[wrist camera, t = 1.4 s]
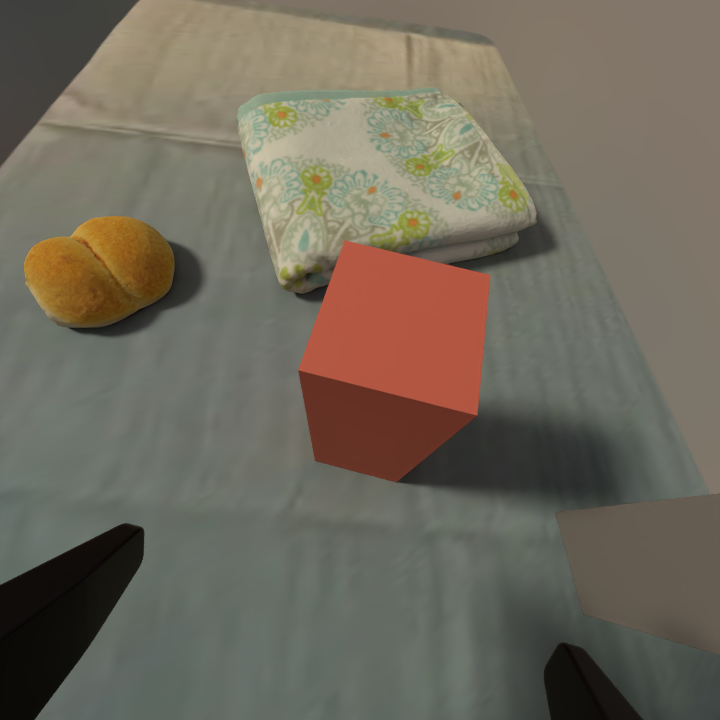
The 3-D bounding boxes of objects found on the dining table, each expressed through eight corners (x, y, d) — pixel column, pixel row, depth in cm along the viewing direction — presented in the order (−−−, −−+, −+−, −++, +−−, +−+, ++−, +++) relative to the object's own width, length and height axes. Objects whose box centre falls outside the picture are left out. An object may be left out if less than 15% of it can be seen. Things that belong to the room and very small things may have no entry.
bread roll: (200, 283, 27) (180, 244, 23) (80, 353, 24) (35, 320, 20) (143, 220, 29) (117, 176, 25) (26, 276, 26) (-22, 234, 22)
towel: (526, 253, 31) (560, 204, 26) (282, 304, 27) (272, 256, 22) (442, 127, 38) (458, 71, 34) (241, 151, 34) (227, 91, 29)
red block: (396, 482, 21) (477, 415, 10) (315, 460, 21) (298, 370, 10) (410, 404, 23) (490, 275, 12) (337, 386, 24) (344, 240, 12)
